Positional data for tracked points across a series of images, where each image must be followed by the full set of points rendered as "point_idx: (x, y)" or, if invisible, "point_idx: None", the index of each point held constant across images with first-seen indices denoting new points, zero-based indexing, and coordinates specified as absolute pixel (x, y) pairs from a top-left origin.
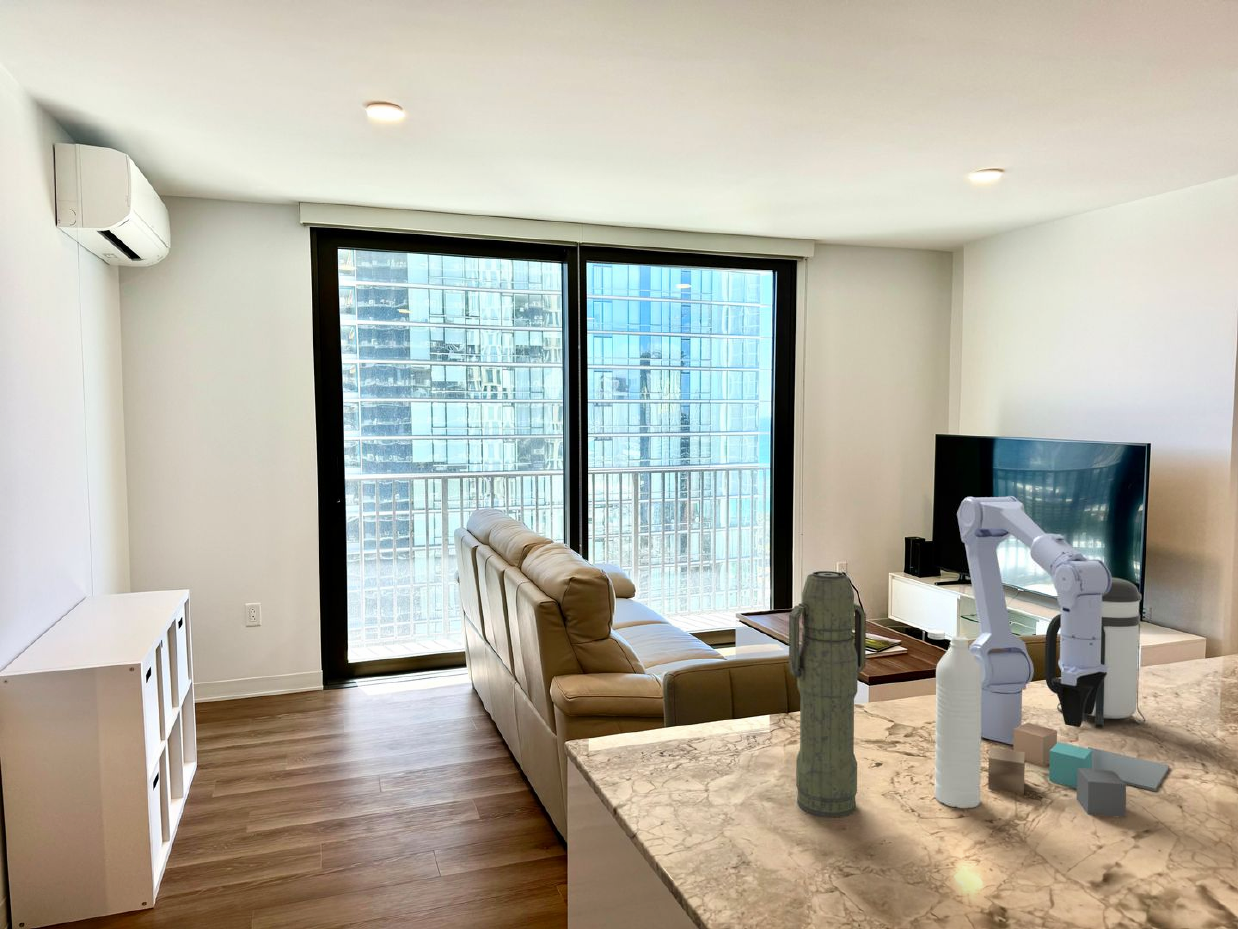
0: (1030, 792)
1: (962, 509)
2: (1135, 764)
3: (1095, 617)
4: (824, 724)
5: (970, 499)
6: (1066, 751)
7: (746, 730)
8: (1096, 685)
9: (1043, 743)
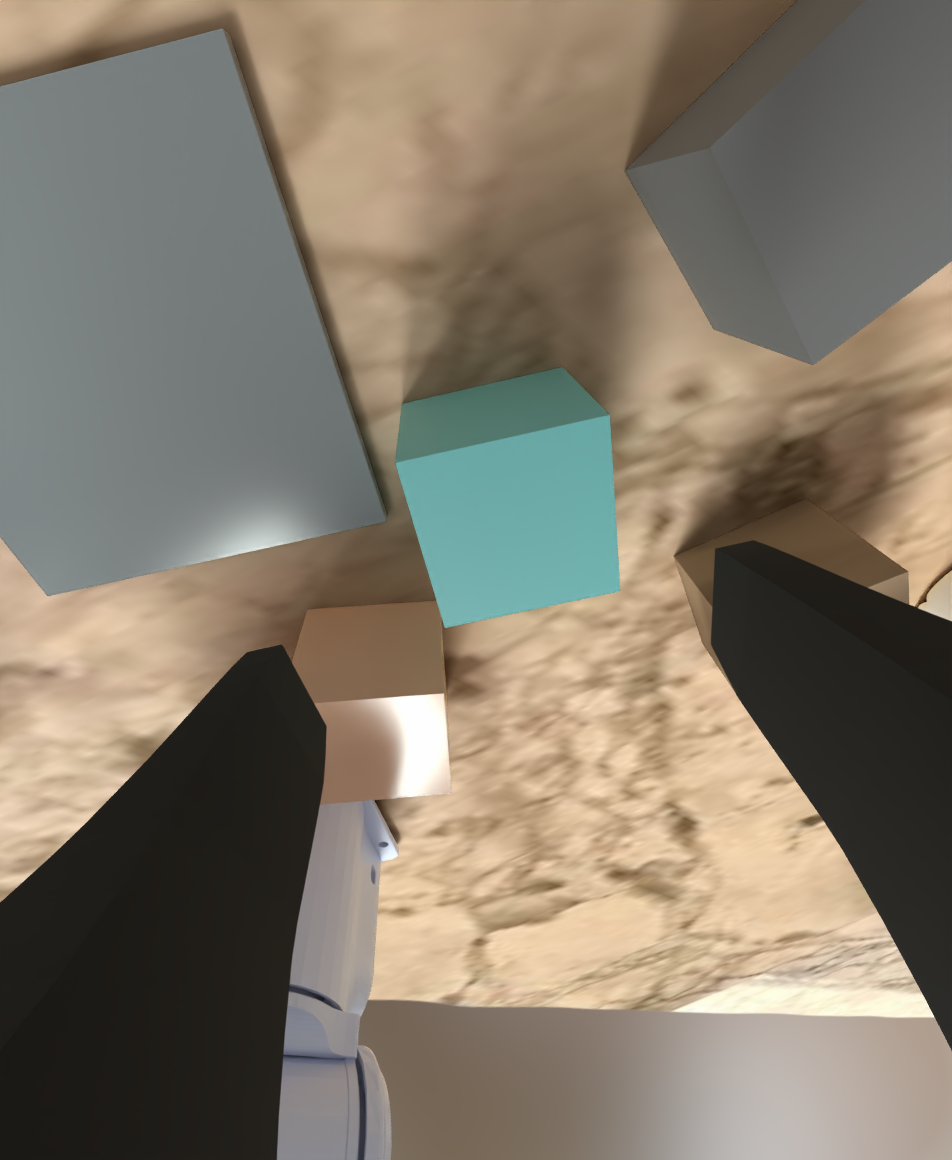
0: (760, 495)
1: None
2: None
3: None
4: None
5: None
6: (563, 537)
7: (787, 985)
8: (84, 999)
9: (439, 669)
